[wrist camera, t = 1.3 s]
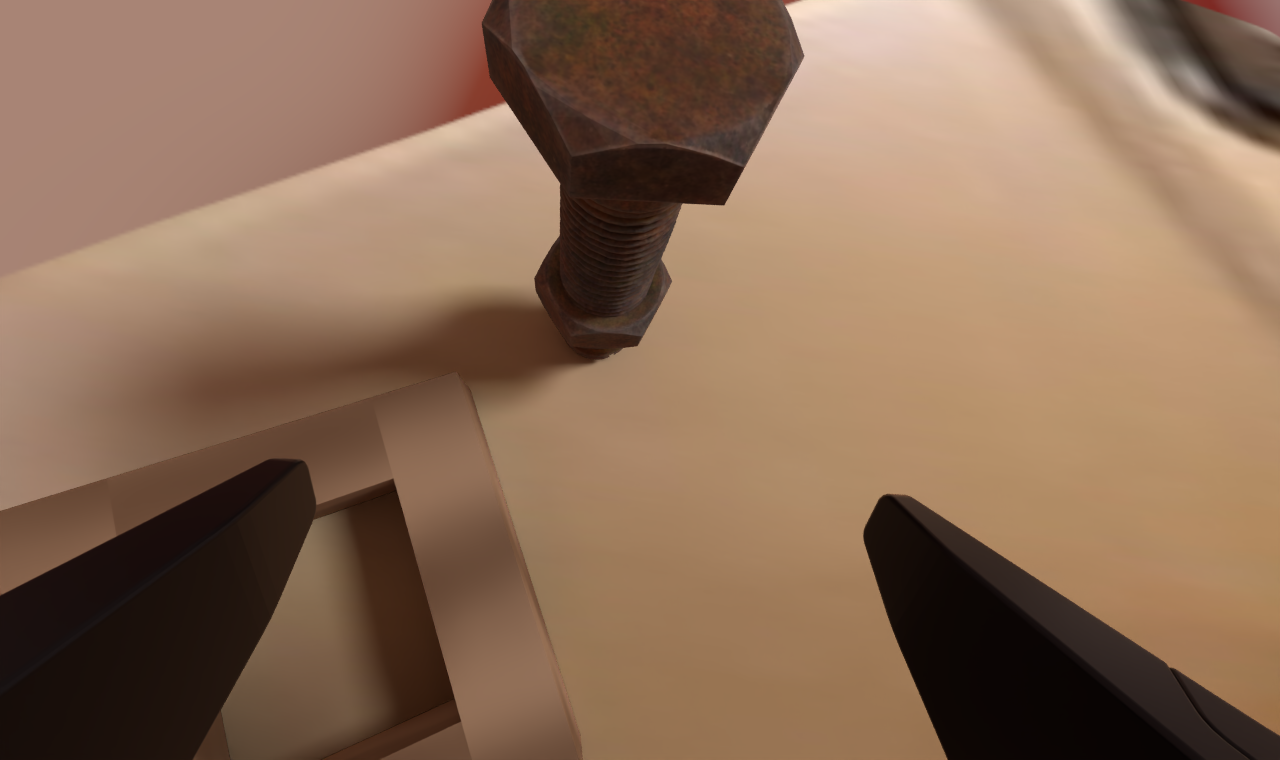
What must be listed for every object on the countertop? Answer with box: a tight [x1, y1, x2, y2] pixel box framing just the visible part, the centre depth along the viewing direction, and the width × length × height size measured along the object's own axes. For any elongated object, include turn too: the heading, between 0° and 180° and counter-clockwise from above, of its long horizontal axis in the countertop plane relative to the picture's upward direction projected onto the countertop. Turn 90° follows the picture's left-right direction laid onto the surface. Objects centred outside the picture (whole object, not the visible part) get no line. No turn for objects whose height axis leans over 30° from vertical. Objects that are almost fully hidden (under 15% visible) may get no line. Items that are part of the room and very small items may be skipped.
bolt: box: [482, 0, 804, 359], centre depth 16 cm, size 6×5×15 cm
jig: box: [0, 372, 583, 760], centre depth 17 cm, size 14×14×3 cm
